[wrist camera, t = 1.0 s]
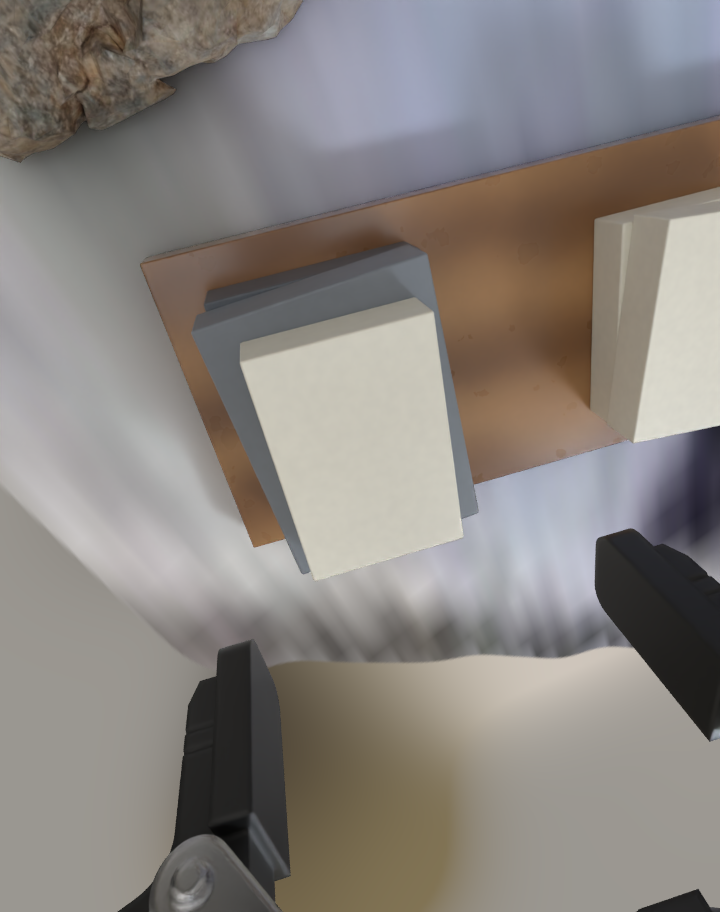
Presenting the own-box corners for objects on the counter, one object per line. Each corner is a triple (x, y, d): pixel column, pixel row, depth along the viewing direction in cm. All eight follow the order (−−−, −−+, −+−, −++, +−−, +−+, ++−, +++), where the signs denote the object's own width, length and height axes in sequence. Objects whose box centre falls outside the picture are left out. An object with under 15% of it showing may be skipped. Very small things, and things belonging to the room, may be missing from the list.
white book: (239, 342, 17) (239, 362, 16) (415, 296, 18) (434, 310, 16) (308, 549, 22) (314, 582, 20) (447, 509, 22) (464, 538, 21)
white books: (585, 214, 22) (649, 224, 18) (735, 176, 22) (825, 178, 19) (582, 416, 27) (632, 454, 23) (705, 381, 27) (773, 413, 24)
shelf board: (145, 257, 21) (138, 263, 20) (794, 96, 23) (827, 92, 21) (253, 530, 28) (253, 548, 27) (740, 391, 30) (762, 402, 28)
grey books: (194, 286, 20) (183, 315, 17) (412, 231, 21) (450, 247, 17) (278, 520, 26) (284, 580, 22) (447, 472, 27) (480, 523, 23)
